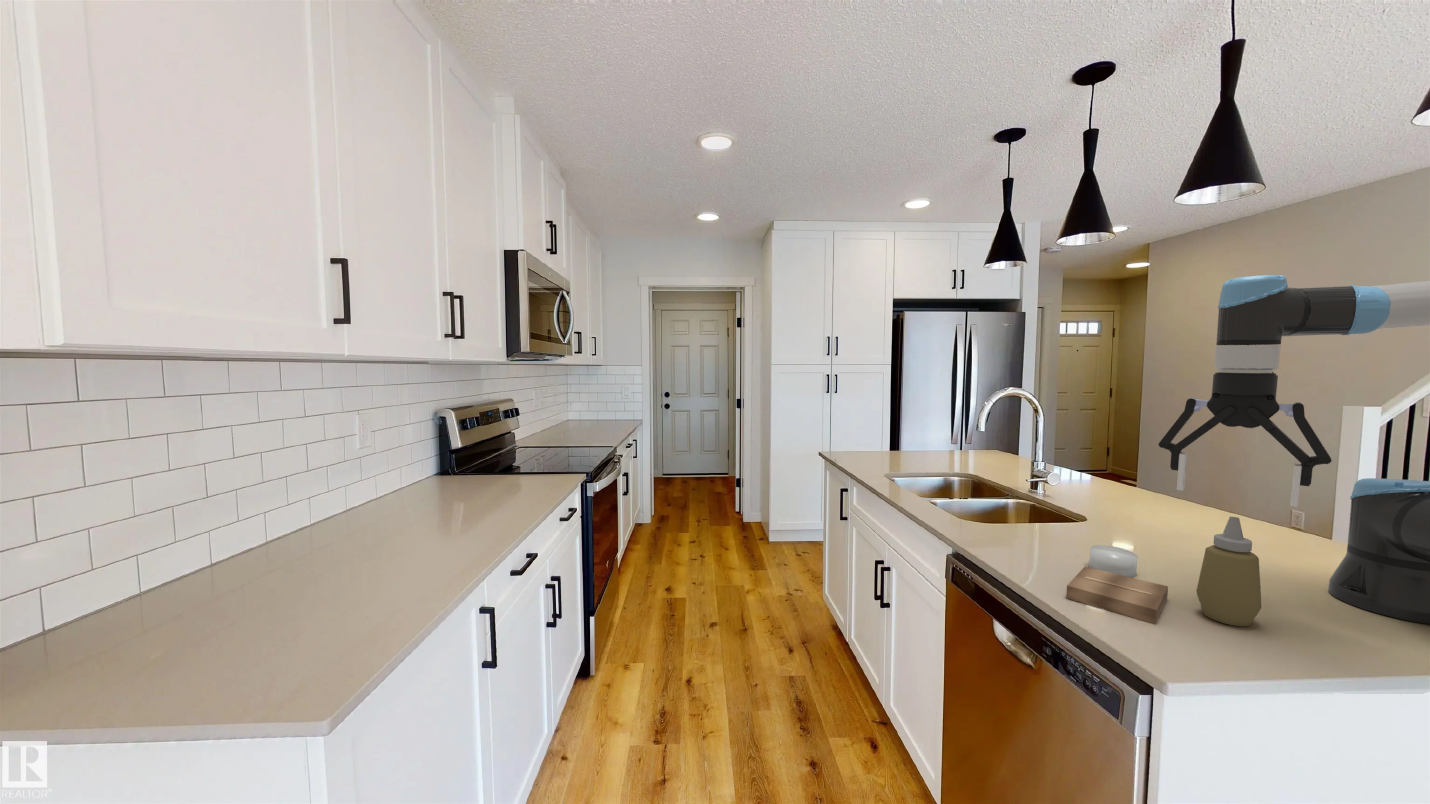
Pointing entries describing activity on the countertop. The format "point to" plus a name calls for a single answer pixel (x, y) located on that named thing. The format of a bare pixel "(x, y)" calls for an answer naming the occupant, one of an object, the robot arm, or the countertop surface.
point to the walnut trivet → (1118, 594)
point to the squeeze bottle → (1230, 578)
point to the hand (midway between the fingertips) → (1233, 496)
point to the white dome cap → (1113, 560)
